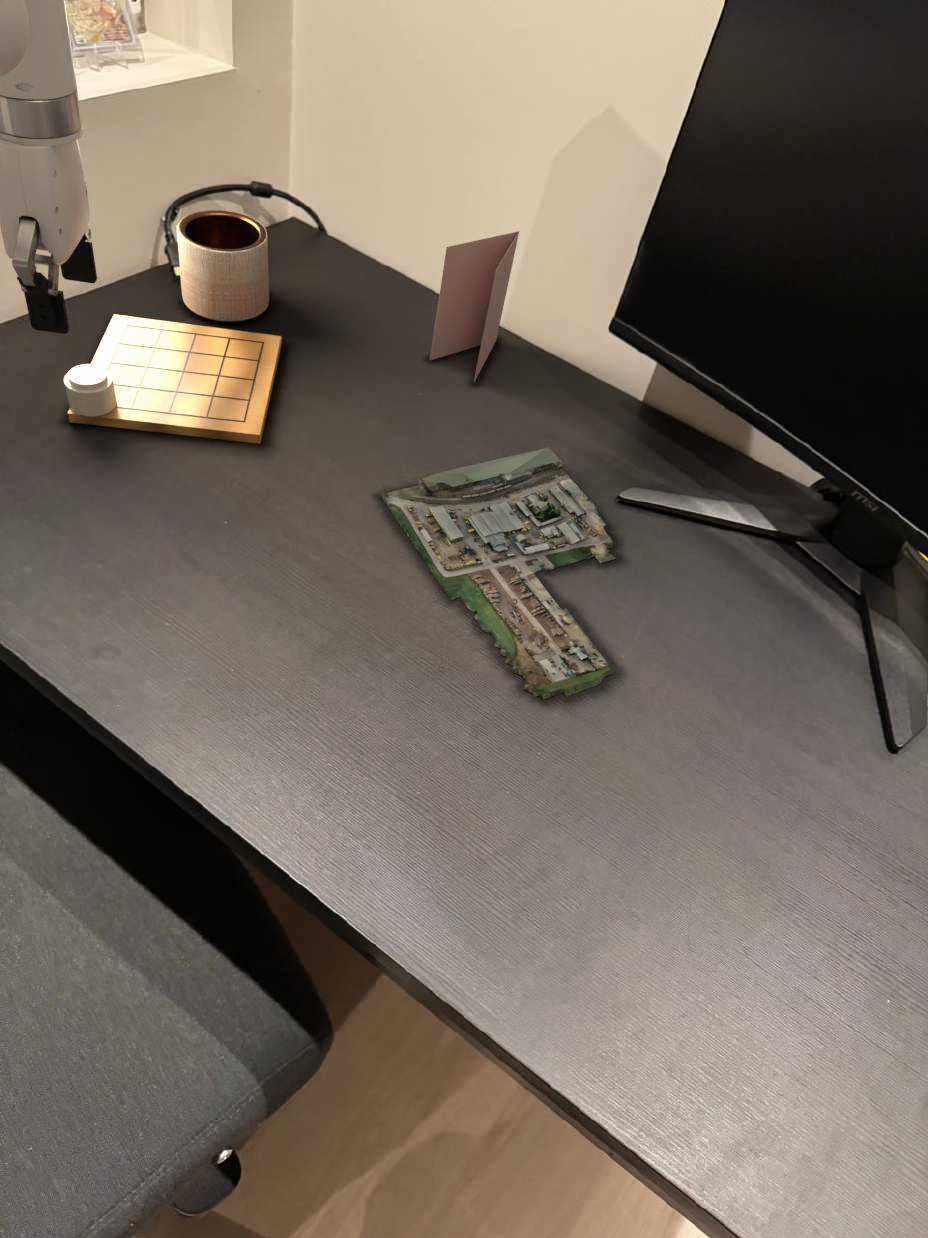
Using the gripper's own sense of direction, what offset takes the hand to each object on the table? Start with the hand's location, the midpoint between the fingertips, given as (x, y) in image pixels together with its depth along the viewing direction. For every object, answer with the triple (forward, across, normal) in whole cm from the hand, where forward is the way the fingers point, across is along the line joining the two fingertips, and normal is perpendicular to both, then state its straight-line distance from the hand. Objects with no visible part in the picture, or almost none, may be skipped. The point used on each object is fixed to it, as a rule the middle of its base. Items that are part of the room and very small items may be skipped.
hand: (66, 304), depth 81 cm
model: (+13, +16, +48) cm, 53 cm away
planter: (+12, -27, +10) cm, 31 cm away
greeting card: (+12, -21, +44) cm, 50 cm away
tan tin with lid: (+12, -1, +1) cm, 12 cm away
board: (+13, -9, +8) cm, 18 cm away
